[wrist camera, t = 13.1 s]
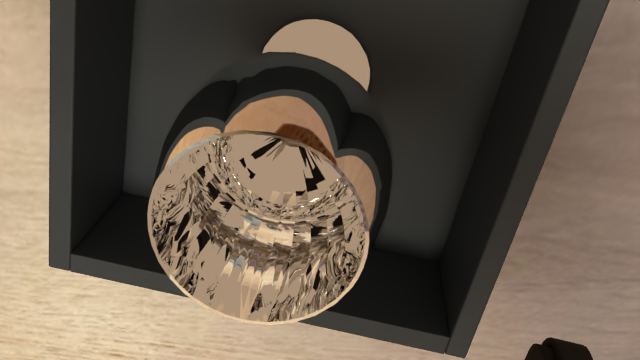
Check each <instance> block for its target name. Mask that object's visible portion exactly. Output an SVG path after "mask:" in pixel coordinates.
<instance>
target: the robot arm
mask: <svg viewBox="0 0 640 360" xmlns="http://www.w3.org/2000/svg"><path fill="white" fill-rule="evenodd" d="M525 360H593V358H592V356H591V354H590V352H589V350H588V349H587V347H586V346H584V345H581V344H576V343H572V342H568V341H563V340H559V339H555V338H547V339H546V340H544V341H543V343H542V345H540V344H533V345H532V346H531V348H530V349H529V351H528V353H527V356H526V358H525Z"/></svg>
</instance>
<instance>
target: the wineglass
mask: <svg viewBox="0 0 640 360" xmlns="http://www.w3.org/2000/svg"><path fill="white" fill-rule="evenodd" d="M371 84H372V65H371V61H370V58H369V54H368V52H367V50H366V49H365V47H364V45H363V43H362V41H361V40H360V39H359V38H358V37H357V36H356V35H355V34H354V33H353V32H352V31H351V30H349V29H348V28H347V27H345V26H344V25H342V24H340V23H338V22H336V21H333V20H331V19H327V18H321V17H304V18H299V19H295V20H293V21H290V22H288V23H286V24H284V25H282V26H281V27H279V28H278V29H277V30H276V31H275V32H273V33H272V34H271V35H270V37H269V38H268V39H267V41H266V42H265V44H264V45H263V48H262V50H261V53H260V54H257V55H252V56H248V57H245V58H242V59H240V60H237V61H235V62H233V63H231V64H229V65H227V66H226V67H224V68H222V69H220V70H219V71H217V72H215V73H214V74H213V75H211V76H210V77H209V78H207V79H206V80H205V81H204V82H203V83H202V84H201V85H199V87H198V88H197V89H196V90H195V91H194V92H193V94H192V95H191V96H190V97H189V98H188V100H187V101H186V103H185V104H184V106H183V107H182V108H181V110H180V111H179V113H178V114H177V116H176V117H175V119H174V121H173V122H172V125H171V127H170V129H169V131H168V134H167V136H166V139H165V141H164V144H163V146H162V149H161V151H160V154H159V158H158V161H157V165H156V170H155V174H154V179H153V184H152V189H151V194H150V199H149V205H148V213H147V218H148V232H149V236H150V240H151V245H152V247H153V250H154V252H155V254H156V257H157V259H158V262H159V263H160V265H161V266H162V268H163V269H164V271H165V272H166V274H167V275H168V277H169V278H170V279H171V280H172V281H173V282H174V283H175V284H176V286H177V287H178V288H179V289H180V290H181V291H182V292H183V293H184V294H186V295H187V296H188V297H190V298H191V299H192V300H194V301H195V302H197V303H198V304H199V305H201V306H202V307H204V308H206V309H208V310H210V311H212V312H215V313H217V314H219V315H221V316H223V317H227V318H230V319H234V320H237V321H241V322H244V323H253V324H265V325H275V324H285V323H294V322H297V321H300V320H303V319H306V318H310V317H313V316H316V315H317V314H319V313H321V312H323V311H324V310H326V309H328V308H329V307H331V306H333V305H334V304H336V303H337V302H338V301H339V300H340V299H341V298H342V297H343V296H344V295H345V294H346V293H347V292H348V291H349V290H350V289H351V288H352V287H353V285H354V284H355V283H356V281H357V280H358V278H359V276H360V274H361V272H362V270H363V268H364V266H365V264H366V263H367V261H368V259H369V257H370V255H371V253H372V251H373V249H374V247H375V245H376V243H377V241H378V239H379V237H380V235H381V232H382V229H383V226H384V223H385V220H386V217H387V214H388V211H389V207H390V203H391V198H392V194H393V188H394V172H395V167H394V152H393V146H392V141H391V137H390V133H389V131H388V128H387V126H386V123H385V120H384V118H383V115H382V113H381V112H380V110H379V108H378V106H377V105H376V103H375V101H374V99H373V98H372V97H371V96H370V89H371Z"/></svg>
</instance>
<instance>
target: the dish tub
mask: <svg viewBox="0 0 640 360" xmlns="http://www.w3.org/2000/svg"><path fill="white" fill-rule="evenodd" d="M608 3H609V0H50V154H49V266H50V267H54V268H59V269H63V270H70V271H71V272H76V273H80V274H85V275H89V276H94V277H98V278H103V279H107V280H112V281H116V282H121V283H125V284H130V285H134V286H139V287H143V288H148V289H152V290H157V291H161V292H166V293H171V294H175V295H180V296H184V297H188V296H187V295H186V294H184V293H183V292H182V291H181V290H180V289H179V288H178V287H177V286H176V284H175V283H174V282H173V281H172V280H171V279H170V278H169V277H168V275H167V274H166V272H165V271H164V269H163V268H162V266H161V265H160V263H159V262H158V259H157V257H156V254H155V252H154V250H153V247H152V245H151V240H150V236H149V232H148V218H147V213H148V205H149V199H150V194H151V189H152V184H153V179H154V174H155V170H156V165H157V161H158V158H159V154H160V151H161V149H162V146H163V144H164V141H165V139H166V136H167V134H168V131H169V129H170V127H171V125H172V122H173V121H174V119H175V117H176V116H177V114H178V113H179V111H180V110H181V108H182V107H183V106H184V104H185V103H186V101H187V100H188V98H189V97H190V96H191V95H192V94H193V92H194V91H195V90H196V89H197V88H198V87H199V85H201V84H202V83H203V82H204V81H205V80H206V79H207V78H209V77H210V76H211V75H213V74H214V73H215V72H217V71H219V70H220V69H222V68H224V67H226V66H227V65H229V64H231V63H233V62H235V61H237V60H240V59H242V58H245V57H248V56H252V55H257V54H260V53H261V50H262V48H263V45H264V44H265V42H266V41H267V39H268V38H269V37H270V35H271V34H272V33H273V32H275V31H276V30H277V29H278V28H279V27H281V26H282V25H284V24H286V23H288V22H290V21H293V20H295V19H299V18H304V17H321V18H327V19H331V20H333V21H336V22H338V23H340V24H342V25H344V26H345V27H347V28H348V29H349V30H351V31H352V32H353V33H354V34H355V35H356V36H357V37H358V38H359V39H360V40H361V41H362V43H363V45H364V47H365V49H366V50H367V52H368V54H369V58H370V61H371V65H372V84H371V89H370V96H371V97H372V98H373V99H374V101H375V103H376V105H377V106H378V108H379V110H380V112H381V113H382V115H383V118H384V120H385V123H386V126H387V128H388V131H389V133H390V137H391V141H392V146H393V152H394V167H395V172H394V188H393V194H392V198H391V203H390V207H389V211H388V214H387V217H386V220H385V223H384V226H383V229H382V232H381V235H380V237H379V239H378V241H377V243H376V245H375V247H374V249H373V251H372V253H371V255H370V257H369V259H368V261H367V263H366V264H365V266H364V268H363V270H362V272H361V274H360V276H359V278H358V280H357V281H356V283H355V284H354V285H353V287H352V288H351V289H350V290H349V291H348V292H347V293H346V294H345V295H344V296H343V297H342V298H341V299H340V300H339V301H338V302H337V303H336V304H334V305H333V306H331V307H329V308H328V309H326V310H324V311H323V312H321V313H319V314H317V315H316V316H313V317H310V318H306V319H303V320H300V321H297V322H301V323H306V324H310V325H315V326H319V327H324V328H329V329H333V330H338V331H342V332H347V333H351V334H356V335H360V336H365V337H369V338H374V339H378V340H383V341H387V342H392V343H396V344H401V345H405V346H410V347H414V348H419V349H423V350H428V351H432V352H437V353H441V354H444V352H445V354H448V355H452V356H457V357H461V358H465V357H466V354H467V352H468V349H469V347H470V344H471V342H472V339H473V337H474V335H475V332H476V330H477V327H478V325H479V322H480V320H481V317H482V315H483V312H484V310H485V307H486V305H487V302H488V300H489V297H490V295H491V292H492V290H493V288H494V285H495V283H496V280H497V278H498V275H499V273H500V270H501V268H502V265H503V263H504V260H505V258H506V255H507V253H508V250H509V248H510V245H511V243H512V240H513V238H514V236H515V233H516V231H517V228H518V226H519V223H520V221H521V218H522V216H523V213H524V211H525V208H526V206H527V203H528V201H529V198H530V196H531V193H532V191H533V188H534V186H535V184H536V181H537V179H538V176H539V174H540V171H541V169H542V166H543V164H544V161H545V159H546V156H547V154H548V151H549V149H550V146H551V144H552V141H553V139H554V137H555V134H556V132H557V129H558V127H559V124H560V122H561V119H562V117H563V114H564V112H565V109H566V107H567V104H568V102H569V99H570V97H571V94H572V92H573V89H574V87H575V85H576V82H577V80H578V77H579V75H580V72H581V70H582V67H583V65H584V62H585V60H586V57H587V55H588V52H589V50H590V47H591V45H592V42H593V40H594V37H595V35H596V33H597V30H598V28H599V25H600V23H601V20H602V18H603V15H604V13H605V10H606V8H607V5H608ZM189 298H190V297H189Z"/></svg>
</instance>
